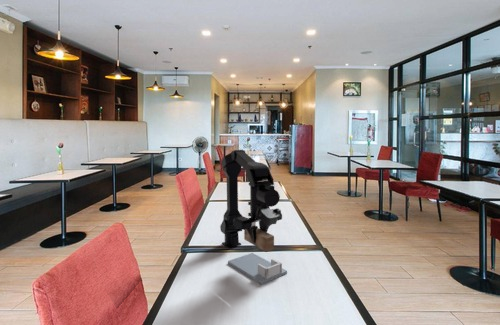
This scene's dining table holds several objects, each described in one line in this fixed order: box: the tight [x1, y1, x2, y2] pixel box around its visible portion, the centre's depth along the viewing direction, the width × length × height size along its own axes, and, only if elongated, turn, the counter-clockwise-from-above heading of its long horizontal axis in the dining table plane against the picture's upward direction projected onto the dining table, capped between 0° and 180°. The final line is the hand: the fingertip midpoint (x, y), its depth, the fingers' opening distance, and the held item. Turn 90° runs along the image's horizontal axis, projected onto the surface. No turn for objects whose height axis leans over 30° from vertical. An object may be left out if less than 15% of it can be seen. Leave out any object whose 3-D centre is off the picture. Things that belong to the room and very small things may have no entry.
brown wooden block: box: [243, 227, 275, 253], centre depth 113 cm, size 14×4×5 cm, turn 33°
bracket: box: [227, 252, 288, 285], centre depth 116 cm, size 20×12×4 cm, turn 38°
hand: (258, 241), depth 114 cm, fingers closed on brown wooden block, 4 cm apart
